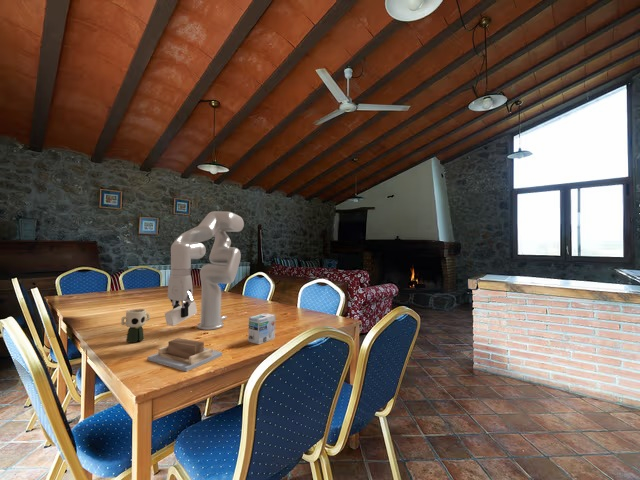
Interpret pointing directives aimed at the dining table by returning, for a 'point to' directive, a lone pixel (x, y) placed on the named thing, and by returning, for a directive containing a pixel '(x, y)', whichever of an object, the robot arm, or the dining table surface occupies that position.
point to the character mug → (135, 324)
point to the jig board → (179, 364)
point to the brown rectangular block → (184, 348)
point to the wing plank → (179, 314)
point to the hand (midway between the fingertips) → (180, 315)
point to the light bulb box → (261, 328)
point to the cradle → (192, 359)
